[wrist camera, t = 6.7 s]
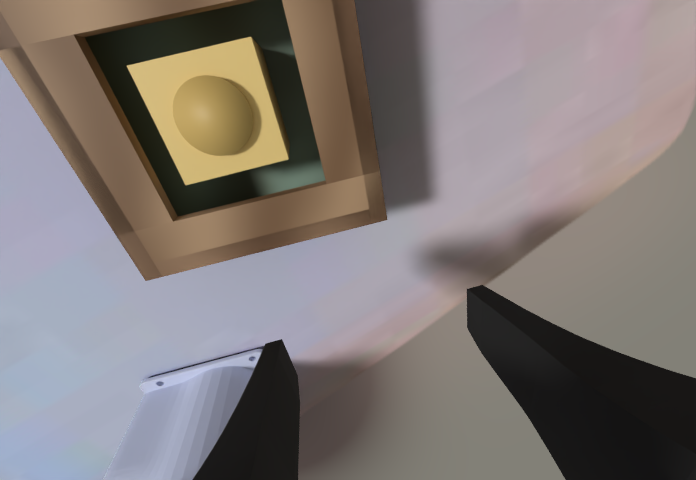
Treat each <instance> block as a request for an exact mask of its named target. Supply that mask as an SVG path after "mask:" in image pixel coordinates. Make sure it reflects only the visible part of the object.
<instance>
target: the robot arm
mask: <svg viewBox="0 0 696 480" xmlns="http://www.w3.org/2000/svg"><path fill="white" fill-rule="evenodd" d="M467 328H468V330H469V332H470V333H471V335H472V337H473V339H474V341H475V342H476V344H477V346H478V348H479V349H480V351H481V353H482V354H483V356H484V357H485V358H486V360H487V361H488V362H489V364H490V365H491V367H492V368H493V369H494V371H495V372H496V373H497V375H498V376H499V377H500V379H501V380H502V381H503V383H504V384H505V386H506V387H507V388H508V390H509V391H510V392H511V393H512V395H513V396H514V398H515V399H516V401H517V402H518V403H519V405H520V406H521V407H522V409H523V410H524V412H525V413H526V415H527V416H528V418H529V419H530V421H531V422H532V424H533V426H534V427H535V429H536V430H537V432H538V433H539V435H540V437H541V439H542V440H543V442H544V444H545V445H546V447H547V449H548V450H549V452H550V454H551V455H552V457H553V459H554V460H555V462H556V464H557V466H558V467H559V469H560V470H561V472H562V474H563V476H564V477H565V479H566V480H696V378H693V377H689V376H686V375H683V374H679V373H676V372H673V371H670V370H666V369H664V368H660V367H658V366H655V365H652V364H649V363H646V362H644V361H640V360H638V359H635V358H632V357H629V356H627V355H624V354H621V353H619V352H616V351H613V350H611V349H609V348H606V347H604V346H601V345H599V344H596V343H594V342H592V341H589V340H586V339H584V338H582V337H580V336H578V335H575V334H573V333H571V332H569V331H567V330H565V329H563V328H561V327H559V326H557V325H555V324H552V323H551V322H549V321H546V320H544V319H543V318H541V317H539V316H537V315H535V314H533V313H531V312H529V311H527V310H526V309H523V308H522V307H520V306H518V305H517V304H515V303H513V302H511V301H510V300H508V299H506V298H504V297H502V296H501V295H499V294H497V293H495V292H494V291H492V290H490V289H488V288H487V287H485V286H483V285H480V286H477V287H473V288H469V289H467ZM251 356H253V357H251ZM140 389H141V390H142V391H143V392H144V396H143V398H142V400H141V402H140V404H139V406H138V408H137V410H136V412H135V414H134V417H133V419H132V421H131V423H130V425H129V427H128V429H127V431H126V433H125V435H124V437H123V439H122V441H121V443H120V445H119V447H118V449H117V451H116V454H115V456H114V458H113V460H112V462H111V464H110V466H109V468H108V470H107V472H106V474H105V477H104V479H103V480H298V453H299V452H298V451H299V450H298V449H299V418H300V399H299V386H298V376H297V373H296V371H295V368H294V366H293V364H292V361H291V359H290V357H289V354H288V352H287V350H286V348H285V345H284V343H283V341H282V339H281V340H278V341H274V342H270V343H267V344H265V346H264V348H263V349H256V350H252V351H248V352H244V353H241V354H237V355H233V356H229V357H226V358H222V359H218V360H215V361H211V362H207V363H203V364H200V365H196V366H192V367H188V368H185V369H181V370H177V371H174V372H170V373H166V374H162V375H159V376H155V377H151V378H147V379H144V380H143V381H142V382H141V384H140Z"/></svg>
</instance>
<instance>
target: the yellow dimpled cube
mask: <svg viewBox="0 0 696 480" xmlns="http://www.w3.org/2000/svg"><path fill="white" fill-rule="evenodd" d="M127 68H128V70H129V72H130V74H131V76H132V78H133V80H134V82H135V84H136V86H137V88H138V90H139V92H140V94H141V96H142V98H143V100H144V102H145V104H146V106H147V108H148V110H149V112H150V114H151V116H152V118H153V120H154V122H155V124H156V126H157V128H158V130H159V132H160V134H161V136H162V138H163V141H164V143H165V145H166V147H167V149H168V151H169V153H170V155H171V157H172V159H173V161H174V163H175V165H176V167H177V169H178V171H179V173H180V175H181V177H182V179H183V181H184V183H185V185H189V184H193V183H197V182H201V181H205V180H209V179H213V178H217V177H221V176H225V175H229V174H233V173H237V172H241V171H245V170H249V169H253V168H257V167H261V166H265V165H268V164H272V163H276V162H280V161H284V160H288V159H289V149H290V142H289V139H288V135H287V132H286V128H285V125H284V122H283V118H282V115H281V112H280V108H279V105H278V101H277V98H276V95H275V91H274V88H273V85H272V81H271V78H270V75H269V71H268V68H267V64H266V61H265V58H264V54H263V51H262V48H261V47H260V46H259V45H258V44H257V43H256V42H255V40H254V39H253V38H252V37H247V38H243V39H238V40H234V41H230V42H226V43H221V44H217V45H213V46H209V47H204V48H200V49H196V50H191V51H187V52H183V53H179V54H174V55H170V56H166V57H162V58H157V59H153V60H149V61H145V62H140V63H136V64H132V65H127Z"/></svg>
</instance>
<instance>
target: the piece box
mask: <svg viewBox="0 0 696 480" xmlns="http://www.w3.org/2000/svg"><path fill="white" fill-rule="evenodd" d="M247 37H252V38H253V39H254V40H255V42H256V43H257V44H258V45H259V46H260V47H261V48H262V51H263V54H264V58H265V61H266V64H267V68H268V71H269V75H270V78H271V81H272V85H273V88H274V91H275V95H276V98H277V101H278V105H279V108H280V112H281V115H282V118H283V122H284V125H285V128H286V132H287V135H288V139H289V142H290V149H289V159H288V160H284V161H280V162H276V163H272V164H268V165H265V166H261V167H257V168H253V169H249V170H245V171H241V172H237V173H233V174H229V175H225V176H221V177H217V178H213V179H209V180H205V181H201V182H197V183H193V184H189V185H185V183H184V181H183V179H182V177H181V175H180V173H179V171H178V169H177V167H176V165H175V163H174V161H173V159H172V157H171V155H170V153H169V151H168V149H167V147H166V145H165V143H164V141H163V138H162V136H161V134H160V132H159V130H158V128H157V126H156V124H155V122H154V120H153V118H152V116H151V114H150V112H149V110H148V108H147V106H146V104H145V102H144V100H143V98H142V96H141V94H140V92H139V90H138V88H137V86H136V84H135V82H134V80H133V78H132V76H131V74H130V72H129V70H128V68H127V65H132V64H136V63H140V62H145V61H149V60H153V59H157V58H162V57H166V56H170V55H174V54H179V53H183V52H187V51H191V50H196V49H200V48H204V47H209V46H213V45H217V44H221V43H226V42H230V41H234V40H238V39H243V38H247ZM0 57H1V59H2V61H3V62H4V64H5V65H6V67H7V68H8V70H9V71H10V73H11V74H12V76H13V77H14V79H15V81H16V82H17V84H18V85H19V87H20V88H21V90H22V91H23V93H24V94H25V96H26V97H27V99H28V101H29V102H30V104H31V105H32V107H33V108H34V110H35V111H36V113H37V114H38V116H39V117H40V119H41V121H42V122H43V124H44V125H45V127H46V128H47V130H48V131H49V133H50V134H51V136H52V137H53V139H54V141H55V142H56V144H57V145H58V147H59V148H60V150H61V151H62V153H63V154H64V156H65V157H66V159H67V161H68V162H69V164H70V165H71V167H72V168H73V170H74V171H75V173H76V174H77V176H78V177H79V179H80V181H81V182H82V184H83V185H84V187H85V188H86V190H87V191H88V193H89V194H90V196H91V197H92V199H93V201H94V202H95V204H96V205H97V207H98V208H99V210H100V211H101V213H102V214H103V216H104V217H105V219H106V221H107V222H108V224H109V225H110V227H111V228H112V230H113V231H114V233H115V234H116V236H117V237H118V239H119V241H120V242H121V244H122V245H123V247H124V248H125V250H126V251H127V253H128V254H129V256H130V257H131V259H132V261H133V262H134V264H135V265H136V267H137V268H138V270H139V271H140V273H141V274H142V276H143V277H144V279H145V281H147V280H151V279H155V278H159V277H163V276H167V275H171V274H175V273H179V272H183V271H187V270H191V269H195V268H199V267H203V266H207V265H211V264H215V263H219V262H223V261H226V260H230V259H234V258H238V257H242V256H246V255H250V254H254V253H258V252H262V251H266V250H270V249H274V248H278V247H282V246H286V245H290V244H294V243H298V242H302V241H306V240H310V239H313V238H317V237H321V236H325V235H329V234H333V233H337V232H341V231H345V230H349V229H353V228H357V227H361V226H365V225H369V224H373V223H377V222H381V221H385V220H387V215H386V208H385V202H384V195H383V188H382V182H381V175H380V168H379V162H378V155H377V148H376V142H375V135H374V128H373V122H372V115H371V108H370V102H369V95H368V88H367V82H366V75H365V68H364V62H363V55H362V48H361V42H360V35H359V28H358V22H357V15H356V8H355V2H354V0H0Z"/></svg>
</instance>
